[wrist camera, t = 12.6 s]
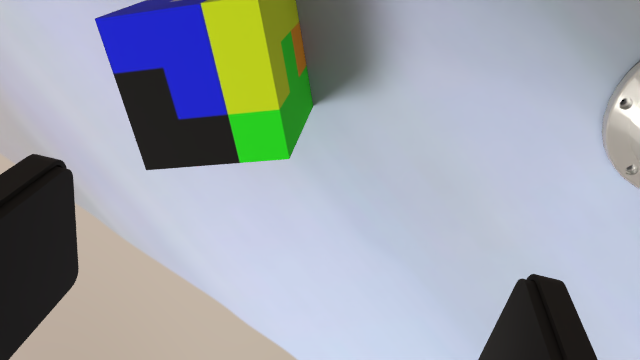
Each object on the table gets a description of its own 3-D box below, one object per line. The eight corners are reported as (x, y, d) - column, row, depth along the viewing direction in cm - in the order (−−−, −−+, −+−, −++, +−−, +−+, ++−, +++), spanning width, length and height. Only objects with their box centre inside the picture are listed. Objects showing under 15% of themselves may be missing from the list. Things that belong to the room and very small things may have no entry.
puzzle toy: (164, -7, 39) (94, 18, 30) (291, -26, 37) (257, -5, 28) (198, 117, 43) (146, 170, 34) (313, 105, 41) (289, 158, 32)
